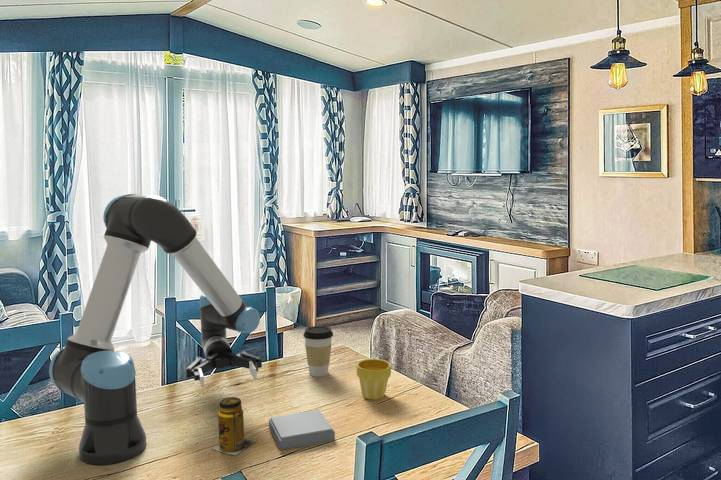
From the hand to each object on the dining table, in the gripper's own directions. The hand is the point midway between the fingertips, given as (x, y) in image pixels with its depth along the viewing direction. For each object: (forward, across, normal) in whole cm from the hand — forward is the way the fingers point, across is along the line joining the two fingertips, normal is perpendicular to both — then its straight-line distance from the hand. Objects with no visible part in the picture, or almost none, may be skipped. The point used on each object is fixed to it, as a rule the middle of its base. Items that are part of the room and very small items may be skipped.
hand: (229, 377), depth 152 cm
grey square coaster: (+10, -16, -14) cm, 24 cm away
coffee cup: (-30, -33, -15) cm, 47 cm away
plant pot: (-6, -43, -15) cm, 46 cm away
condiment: (+10, +1, -14) cm, 17 cm away
